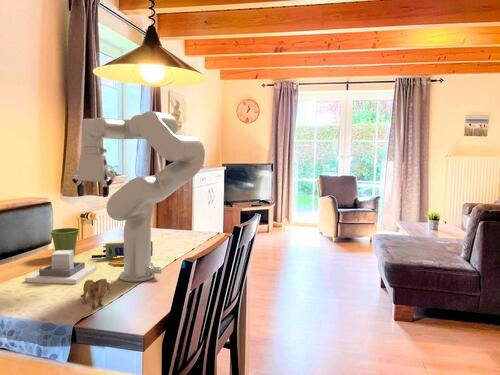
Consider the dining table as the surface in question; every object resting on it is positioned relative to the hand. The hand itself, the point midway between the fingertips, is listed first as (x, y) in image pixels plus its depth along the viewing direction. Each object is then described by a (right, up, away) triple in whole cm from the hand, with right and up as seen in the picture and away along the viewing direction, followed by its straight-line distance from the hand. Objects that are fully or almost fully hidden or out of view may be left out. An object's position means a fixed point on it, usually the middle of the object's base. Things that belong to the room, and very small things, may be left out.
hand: (93, 196), depth 147 cm
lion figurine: (+14, -32, -32) cm, 48 cm away
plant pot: (-20, -26, +19) cm, 38 cm away
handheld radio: (+5, -27, +19) cm, 34 cm away
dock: (-8, -29, -7) cm, 31 cm away
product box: (-8, -28, -7) cm, 30 cm away
